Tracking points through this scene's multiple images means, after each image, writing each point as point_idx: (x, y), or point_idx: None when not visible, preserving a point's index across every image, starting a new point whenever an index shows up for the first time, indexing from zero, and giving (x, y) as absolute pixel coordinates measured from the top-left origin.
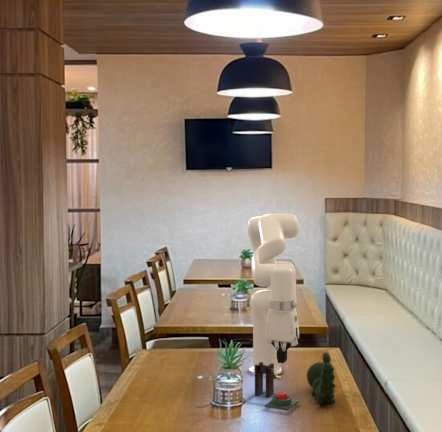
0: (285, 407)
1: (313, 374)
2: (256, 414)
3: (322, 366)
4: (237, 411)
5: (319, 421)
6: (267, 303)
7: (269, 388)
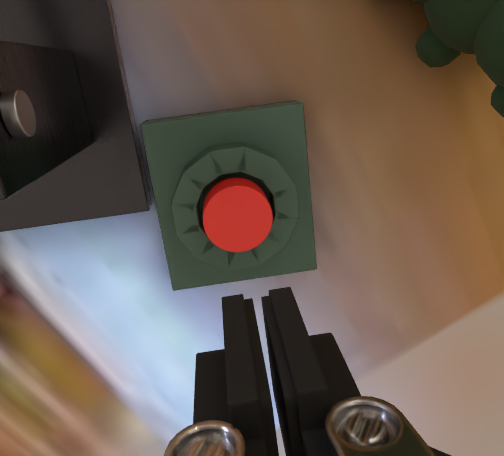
0: (294, 257)
1: None
2: (171, 339)
3: None
4: (63, 358)
5: (490, 249)
6: None
7: (72, 133)
